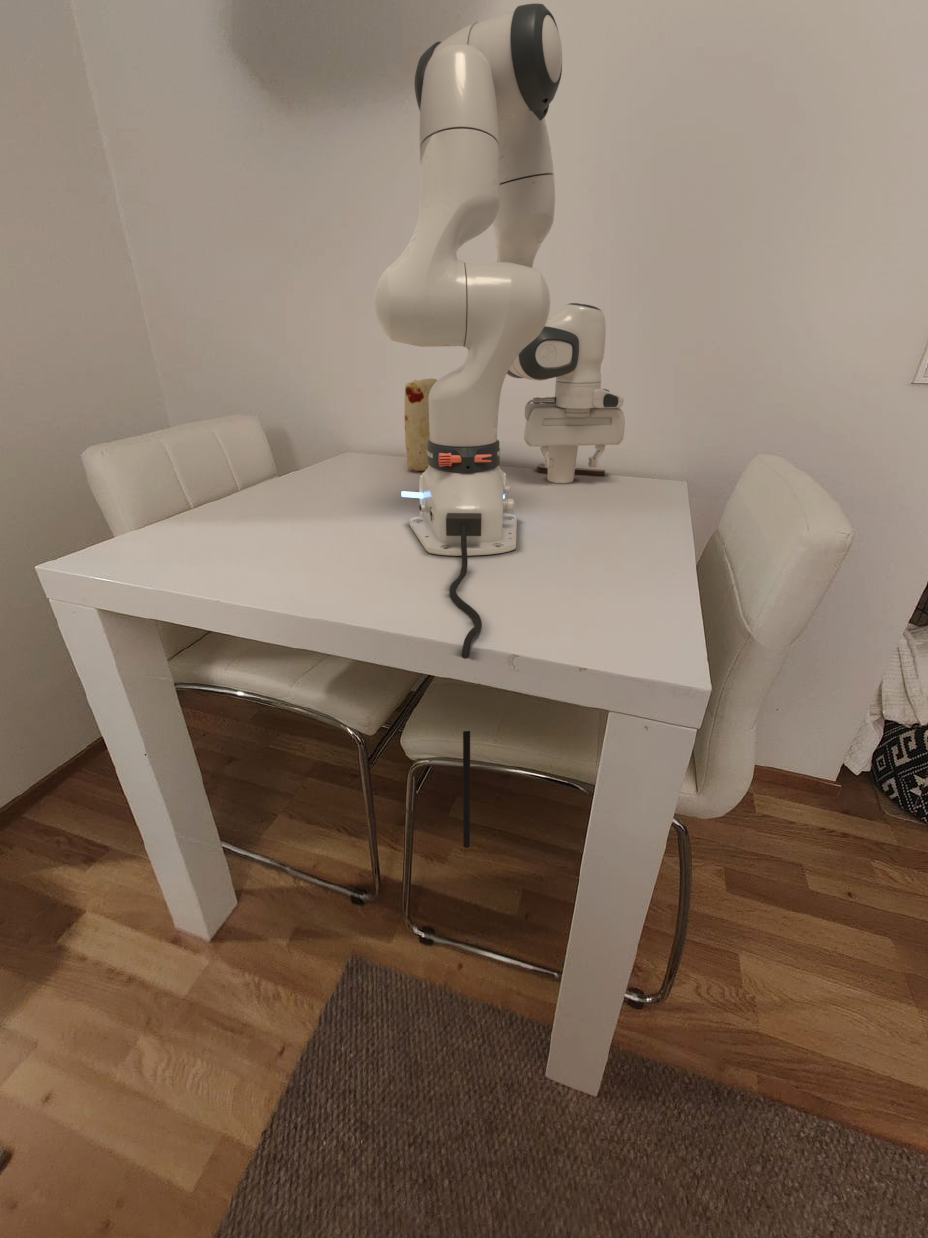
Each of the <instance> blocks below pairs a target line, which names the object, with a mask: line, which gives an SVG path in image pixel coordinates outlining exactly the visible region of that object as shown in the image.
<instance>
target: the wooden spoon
mask: <svg viewBox="0 0 928 1238" xmlns="http://www.w3.org/2000/svg"><path fill="white" fill-rule="evenodd" d="M536 472H537V473H540V474H548V468H546V467H545V463H539V464H537V465H536ZM574 475H586V476H598V477H605V475H606V470H605V469H596V468H583V467H582V468H581V467H579V468H578V467H575V473H574Z"/></svg>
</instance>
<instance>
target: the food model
mask: <svg viewBox="0 0 928 1238" xmlns="http://www.w3.org/2000/svg"><path fill="white" fill-rule="evenodd" d="M438 380H439V379H437V378H423V379H419V380H417V379H414V380H412V381H410V382H407V383H406V384H405V386H404V436H405V437H404V439H405V441H404V442H405V450H406V464H407V468H408V469H409V470H410V471H414V472H422V471H423V472H425V471H426V469H427V468H428V466H429V464H428V462H427V442H428V440H429V439H430V434H429V400H428V398H429V393H430V390H431V388H432V386H433V385H434V384H435V382H436V381H438Z"/></svg>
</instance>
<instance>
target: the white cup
mask: <svg viewBox="0 0 928 1238" xmlns="http://www.w3.org/2000/svg"><path fill="white" fill-rule="evenodd" d="M578 450H579V445H578V446H550V447H549V451H548V452H547V454H548V456H549V458H552V459H554V463H553V468H548V473H547V481H548V482H551V483H556V484H569V483H573V482H574V479H575V474H574V473H575V468H576V465H577V464H576V463H577V459H578V458H577V457H578Z"/></svg>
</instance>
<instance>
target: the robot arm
mask: <svg viewBox="0 0 928 1238" xmlns="http://www.w3.org/2000/svg"><path fill="white" fill-rule="evenodd" d="M560 36H561V35H560V32H559V28H558V25H557V22H556V19H555V17H554V15H553V14H552V12H551V11H550V10H549V9H548V8H547V7H546V6H545V5H544V4H543V3H538V2H537V3H526V4H520V5H517V6H516V8H515V9H514V10H511V11H507V12H504V13H499V14H497V15H494V16H491V17H488V18H486V19H483V20H481V21H474V22H472V23H470V24H469V25H467V26H465V27H463V28H461V29H460V30H458V31H456V32H455V33H453V34H452V35H450V36H448V37H447V38H445V39H444V40H443V41H435V43H433V44H432V45H431V46H430V47H428V48H427V49H426V50H425V51H424V52H423V53H422V54H421V55H420V57H419V59H418V62H417V66H416V69H415V74H414V93H415V98H416V103H417V106H418V107H417V108H418V110H419V162H420V164H419V165H420V189H419V192H420V195H419V210H418V216H417V221H416V225H415V229H414V231H413V234H412V235H411V236H412V237H411V239H410V240H409V242H408V244H407V246H406V247H405V249H404V250H403V252H402V253H401V254H400V255H399V257H398V258H397V259H396V260H395V261H394V262H393V263H392V264H390V265H389V266H388V267H387V268H386V269H385V270H384V271H383V272H382V274H381V275H380V277H379V279H378V282H377V283H376V287H375V292H374V300H373V301H374V312H375V316H376V319H377V322H378V325H379V326H380V328H381V330H382V331H383V333H384V334H385V335H386V336H387V338H388V339H389V340H390V341H391V342H397V343H401V344H405V345H409V346H415V347H421V348H424V347H425V348H427V347H428V348H429V347H430V348H431V347H433V348H434V347H463V348H466V349H467V356H466V358H465V361H463V364H462V365H460V366H459V367H457V368H455V369H453V370H451V371H450V372H448V373H446V374H444V375H443V376H442V377H440V378H438V379H437V380H438V381H436V382H435V384H434V385H433V386H432V388H431V390H430V393H429V398H428V400H429V434H430V439H429V440H428V442H427V462H428V464H429V466H428V468H427V469H426V470H425V471H423V472H422V473H421V475H419V478H418V479H419V480H418V481H419V492H418V491H417V492H416V491H404V490H403V491H401V497H403V498H415V499H419V507H418V509H419V515H416V516H413V517H410V518H409V523H408V525H409V527H410V528H411V530H412V532H413V533H414V534H415V536H416V538H417V539H418V540H419V542H420V543H421V545H422V546H423V549H424V550H425V551H426V553H429V554H433V555H440V556H453V557H454V556H455V557H456V556H457V557H458V556H459V557H461V569H460V573H459V575H458V576H457V578H456V579H454V580H453V581H452V583H451V584H450V585H449V594H450V597H451V600H453V601H454V602H455V603H456V604H457V605H458V606H459V607H461V609H463V610H464V611H465V612H467V613H468V614H469V616H471V618H472V619H473V621H474V626H473V627H472V628H471V629H470V630H469V631H468V633H467V634H466V636H465V637H464V641H463V644H462V650H461V658H462V659H464V660H465V659H466V660H467V659H468V658H470V653H471V652H470V651H471V645H472V642H473V639H475V636H477V635H478V633H479V632H480V631H481V629H482V628H483V623H482V622H483V621H482V618H481V616H480V614H479V613H478V611H476V610H475V609H474V608H473V607H472V606H470V604H468V603H467V602H466V601H464V600H463V599H462V598H461V597H460V596H459V595H458V593H457V587H458V586H459V585H460V584H461V583H462V581H463V579H465V577H466V574H467V570H468V565H469V563H468V556H469V557H470V556H472V557H473V556H487V555H497V554H504V553H509V552H511V551H514V550H516V547H517V531H518V516H517V515H516V514H513V513H515V512H514V511H515V499H514V498H506V495H511V485H506V484H507V474H506V472H504V470H502V468H500V466H499V465H501V448H500V440H499V439H498V426H499V425H498V423H499V409H500V402H501V400H500V399H501V393H502V388H503V385H504V382H505V379H506V376H507V375H508V376H509V377H511V378H515V379H526V380H531V381H538V382H540V381H546V380H547V381H548V380H549V379H554V378H555V385H554V396H547V397H538V396H537V397H533V398H532V399H530V400H528V401H527V403H525V405H524V418H525V420H526V421H525V426H524V434H523V441H524V442H525V444H526V445H528V447H540V448H539V449H540V452H541V454H542V456H543V458H544V464H545V467H546V468H553V463H554V459H552V458H549V456H548V451H549V447H550V446H578V447H579V446H594V448H595V449H596V451H595V452H594V454H593V455H592V456H589V457H588V463H587V465H588V467H589V468H597V467H598V466H599V465H598V464H599V459H600V458H601V456H602V455H603V454H604V452H605V449H606V446H617V445H621V443H622V442H623V440H624V437H625V421H626V420H625V419H626V418H625V413H624V410H622V409H621V408H622V407H623V405H624V397H623V396H621V395H620V394H618V393H615V392H612V391H610V390H608V389H606V388H602V375H601V370H602V369H601V368H602V363H603V360H604V357H605V351H606V349H605V348H606V335H607V334H606V333H607V330H606V328H607V326H606V318H605V317H606V316H605V313H604V312H603V311H602V309H600V308H598V307H597V306H594V305H590V304H586V303H579V302H571V303H567V304H566V305H564V307H563V308H562V309H560V310H559V311H558V312H556V313H555V314H553V315H551V316H549V315H550V311H551V293H550V289H549V286H548V283H547V281H546V279H545V277H544V276H543V274H542V273H541V271H540V270H539V269H537V268H534V266H533V265H534V261H535V259H536V256H537V254H538V251H539V249H540V248H541V246H542V244H543V242H544V241H545V239H546V238H547V236H548V234H549V233H550V231H551V230H552V227H553V225H554V220H555V219H554V218H555V209H556V208H555V207H556V186H555V185H556V184H555V175H554V174H555V173H554V162H553V153H552V148H551V143H550V142H551V141H550V136H549V131H548V127H547V122H546V118H545V117H546V116H547V114H548V112H549V108H550V104H551V103H552V101H554V99H555V96H556V94H557V91H558V89H559V86H560V82H561V79H562V74H563V73H562V72H563V48H562V41H561V37H560ZM491 226H492V229H493V230H492V231H493V235H494V245H495V252H496V260H497V261H464V260H460V259H459V258H458V256H457V252H458V251H459V249H460V248H461V247H463V245H464V244H466V243H468V242H470V241H472V240H473V239H474V238H477V237H479V236H480V235H481V234H483V233H484V232H485V231H486V230H488V229H489V228H490V227H491ZM462 768H463V769H462V775H463V776H462V788H463V789H462V795H463V797H462V799H463V800H462V801H463V802H462V804H463V805H462V807H463V808H462V812H463V813H462V820H463V821H462V822H463V823H462V824H463V827H462V832H463V833H462V835H463V837H462V838H463V840H462V842H463V843H462V845H463V847H464V848H465V849H468V848H470V846H471V730H464V731H462Z"/></svg>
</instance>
